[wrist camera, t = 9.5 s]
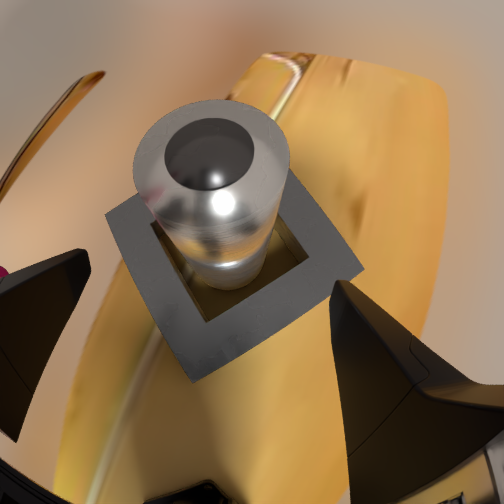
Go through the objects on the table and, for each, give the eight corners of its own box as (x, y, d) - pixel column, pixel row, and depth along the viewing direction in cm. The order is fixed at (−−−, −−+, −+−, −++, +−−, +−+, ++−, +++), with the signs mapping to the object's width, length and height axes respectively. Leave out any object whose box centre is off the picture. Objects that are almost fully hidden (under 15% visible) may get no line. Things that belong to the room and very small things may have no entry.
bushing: (231, 305, 18) (213, 262, 7) (175, 257, 19) (103, 165, 8) (280, 248, 19) (320, 144, 8) (224, 205, 20) (208, 80, 9)
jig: (199, 376, 17) (192, 383, 14) (118, 227, 19) (104, 214, 17) (350, 277, 19) (364, 269, 16) (255, 150, 21) (256, 129, 19)
